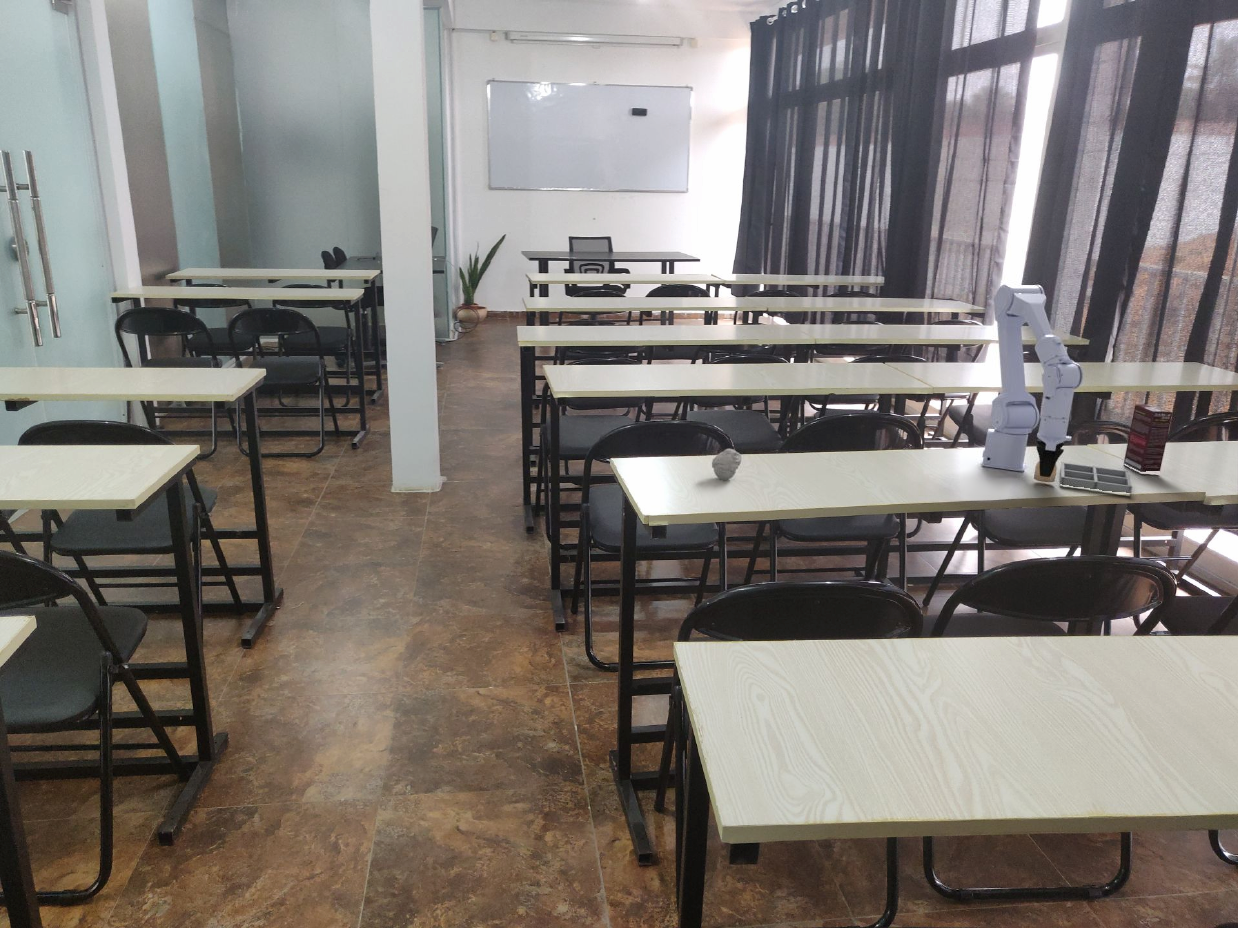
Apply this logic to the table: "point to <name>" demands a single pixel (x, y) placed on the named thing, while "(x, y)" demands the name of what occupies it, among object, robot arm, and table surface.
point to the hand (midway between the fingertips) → (1045, 473)
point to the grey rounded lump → (726, 464)
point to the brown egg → (1042, 478)
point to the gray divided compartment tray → (1095, 478)
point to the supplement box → (1147, 437)
